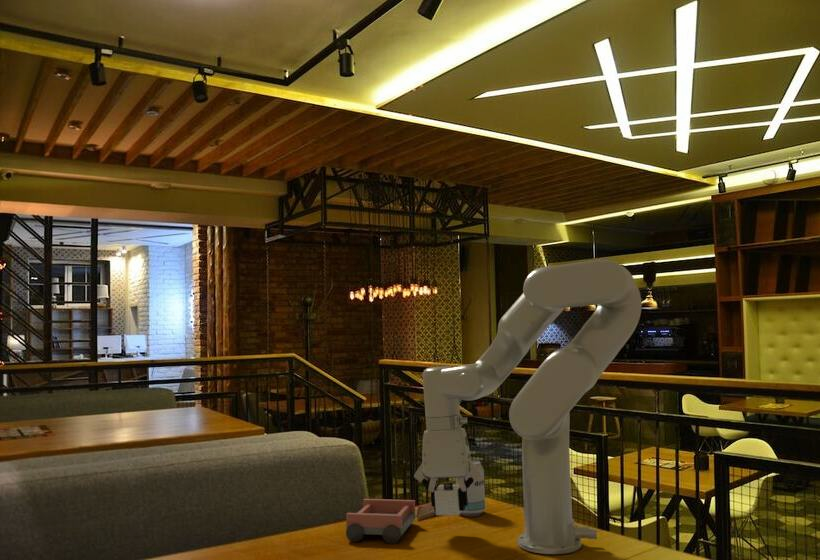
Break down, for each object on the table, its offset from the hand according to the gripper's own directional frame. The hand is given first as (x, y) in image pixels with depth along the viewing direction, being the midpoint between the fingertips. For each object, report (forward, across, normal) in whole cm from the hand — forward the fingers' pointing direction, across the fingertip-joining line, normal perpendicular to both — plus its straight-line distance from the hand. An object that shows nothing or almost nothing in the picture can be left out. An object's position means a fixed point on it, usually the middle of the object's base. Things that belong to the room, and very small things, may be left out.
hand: (450, 508), depth 143 cm
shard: (+6, +7, -16) cm, 19 cm away
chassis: (+5, +15, 0) cm, 16 cm away
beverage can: (+6, -2, -17) cm, 18 cm away
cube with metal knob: (+1, 0, 0) cm, 1 cm away
